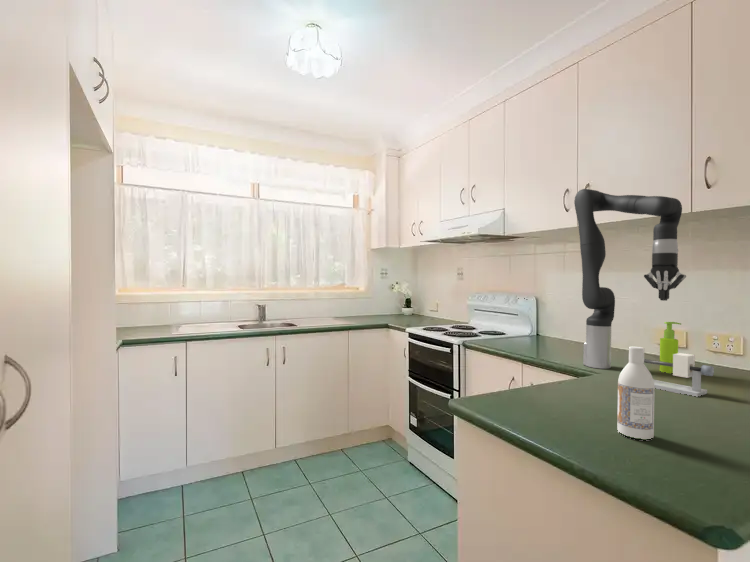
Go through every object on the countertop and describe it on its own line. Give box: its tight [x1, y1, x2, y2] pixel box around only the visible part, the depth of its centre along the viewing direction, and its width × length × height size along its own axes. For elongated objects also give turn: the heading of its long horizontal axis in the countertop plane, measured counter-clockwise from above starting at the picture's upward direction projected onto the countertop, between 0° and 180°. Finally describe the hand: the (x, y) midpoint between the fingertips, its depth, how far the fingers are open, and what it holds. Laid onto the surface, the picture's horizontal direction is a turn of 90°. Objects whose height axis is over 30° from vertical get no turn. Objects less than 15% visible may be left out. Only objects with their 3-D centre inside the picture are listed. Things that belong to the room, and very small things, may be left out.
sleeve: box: [672, 352, 696, 379], centre depth 130 cm, size 4×6×7 cm
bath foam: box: [616, 345, 655, 440], centre depth 91 cm, size 7×7×20 cm
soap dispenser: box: [659, 321, 682, 374], centre depth 160 cm, size 6×7×20 cm
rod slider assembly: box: [644, 358, 715, 398], centre depth 133 cm, size 22×8×10 cm, turn 33°
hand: (663, 300), depth 144 cm, fingers closed
